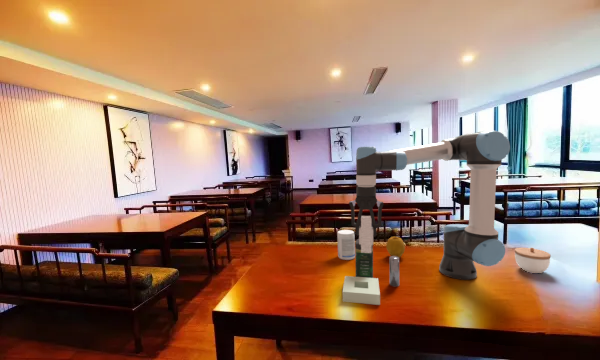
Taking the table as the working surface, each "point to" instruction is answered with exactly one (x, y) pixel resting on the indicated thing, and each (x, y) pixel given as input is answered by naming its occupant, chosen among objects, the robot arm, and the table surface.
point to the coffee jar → (363, 262)
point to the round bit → (394, 271)
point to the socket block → (361, 290)
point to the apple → (395, 246)
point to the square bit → (366, 234)
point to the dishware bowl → (532, 259)
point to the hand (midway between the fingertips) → (366, 243)
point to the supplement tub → (346, 244)
